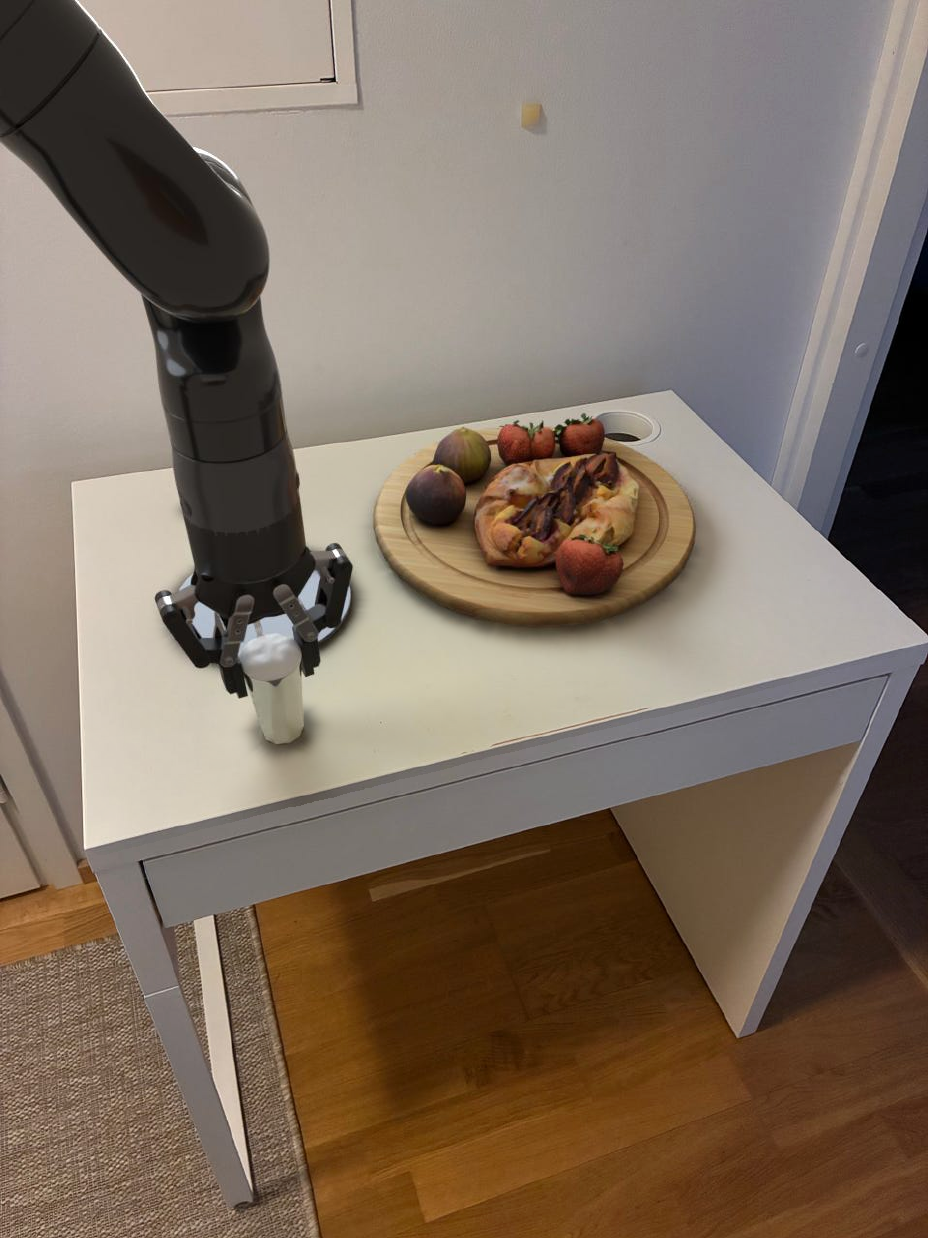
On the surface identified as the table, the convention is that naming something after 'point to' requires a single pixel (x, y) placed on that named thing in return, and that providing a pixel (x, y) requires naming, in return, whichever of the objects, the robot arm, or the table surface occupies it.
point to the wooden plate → (534, 524)
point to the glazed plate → (270, 625)
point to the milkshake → (275, 684)
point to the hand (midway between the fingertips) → (272, 679)
